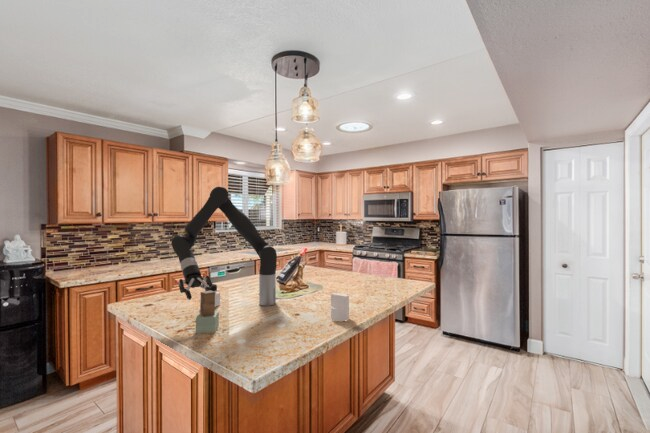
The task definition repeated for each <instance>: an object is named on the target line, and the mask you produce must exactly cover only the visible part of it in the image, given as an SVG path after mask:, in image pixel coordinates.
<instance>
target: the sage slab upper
mask: <svg viewBox="0 0 650 433" xmlns="http://www.w3.org/2000/svg"><path fill="white" fill-rule="evenodd" d="M219 312H220V311H215V315H211V316H206V317H204V316H202V315H200V312H199V313H198V315H196V317H195V327H196V326H205V325H216V323H217V321H218V319H219V318H220V317H219V316H220V315H219V314H220V313H219Z"/></svg>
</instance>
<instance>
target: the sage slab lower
mask: <svg viewBox="0 0 650 433" xmlns="http://www.w3.org/2000/svg"><path fill="white" fill-rule="evenodd" d="M219 323H220V321H219V319H218V321H217V323H216V325H205V326H196V325H195V334H207V333H208V334H209V333H211V334H212V333H216V331H217V330H218V328H219V325H220V324H219Z"/></svg>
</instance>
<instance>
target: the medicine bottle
mask: <svg viewBox="0 0 650 433" xmlns="http://www.w3.org/2000/svg"><path fill="white" fill-rule="evenodd" d="M210 290H211V291H213V292H215V308H217V307H218V306H220V304H221V292H220V291H218V285H217V284H216V283H215V284H214V283H212V287H211V288H210Z"/></svg>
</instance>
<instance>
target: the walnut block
mask: <svg viewBox="0 0 650 433" xmlns="http://www.w3.org/2000/svg"><path fill="white" fill-rule="evenodd" d="M199 303H200V309H199V313H200V315H202V316H204V317H206V316H211V315H215V312H216V311H215V309H216V307H215V292H213V291H211V290H210V291H205V290H204V291H200V302H199Z"/></svg>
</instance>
